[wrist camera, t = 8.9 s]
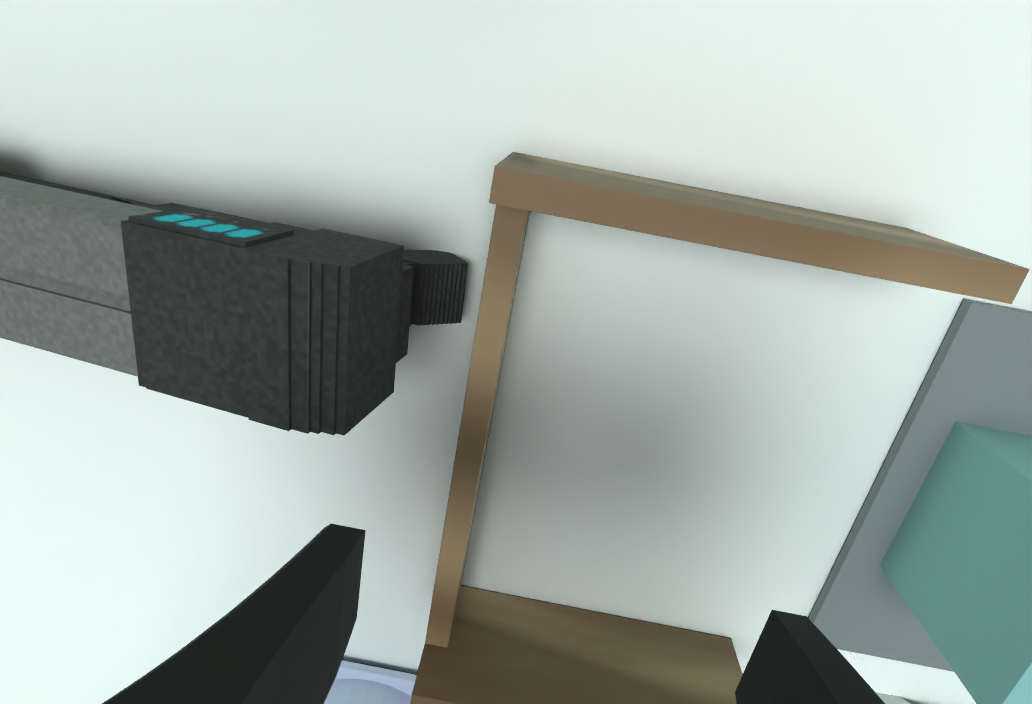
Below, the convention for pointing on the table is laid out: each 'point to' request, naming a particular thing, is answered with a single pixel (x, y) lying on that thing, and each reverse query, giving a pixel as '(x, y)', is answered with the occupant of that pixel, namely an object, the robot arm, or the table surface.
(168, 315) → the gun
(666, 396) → the table surface
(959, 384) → the mat
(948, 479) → the block
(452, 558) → the frame
